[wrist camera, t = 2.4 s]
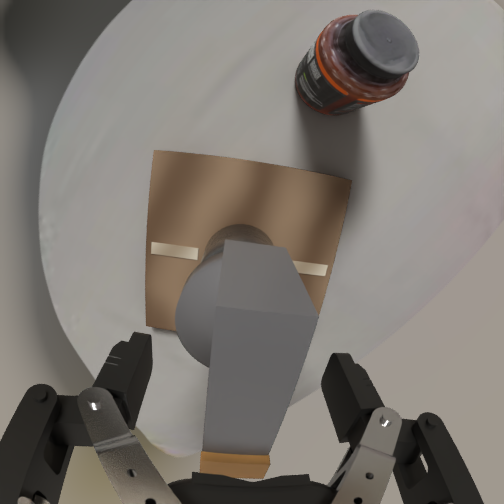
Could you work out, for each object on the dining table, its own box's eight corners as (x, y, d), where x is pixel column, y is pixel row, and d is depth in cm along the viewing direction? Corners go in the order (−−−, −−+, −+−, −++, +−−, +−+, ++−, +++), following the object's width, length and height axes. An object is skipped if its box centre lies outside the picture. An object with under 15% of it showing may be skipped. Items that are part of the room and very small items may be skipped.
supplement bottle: (371, 88, 21) (450, 58, 10) (331, 130, 22) (400, 117, 11) (322, 42, 19) (375, -19, 9) (278, 82, 21) (310, 29, 10)
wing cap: (187, 223, 15) (132, 303, 7) (317, 241, 15) (389, 328, 7) (179, 357, 18) (154, 467, 10) (283, 368, 18) (305, 477, 10)
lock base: (345, 178, 23) (398, 194, 15) (306, 336, 29) (328, 398, 20) (159, 150, 22) (116, 150, 13) (150, 317, 27) (122, 378, 19)
